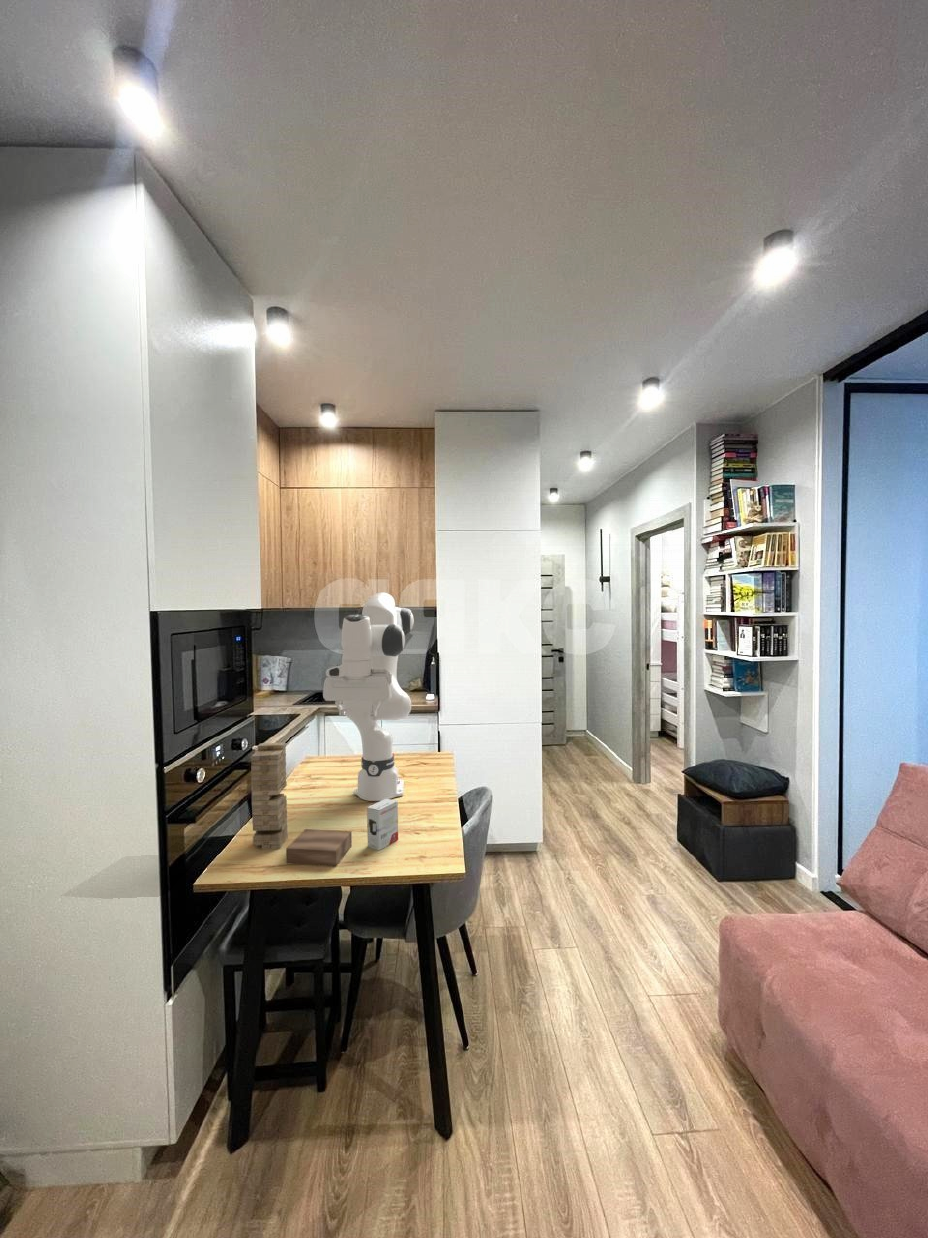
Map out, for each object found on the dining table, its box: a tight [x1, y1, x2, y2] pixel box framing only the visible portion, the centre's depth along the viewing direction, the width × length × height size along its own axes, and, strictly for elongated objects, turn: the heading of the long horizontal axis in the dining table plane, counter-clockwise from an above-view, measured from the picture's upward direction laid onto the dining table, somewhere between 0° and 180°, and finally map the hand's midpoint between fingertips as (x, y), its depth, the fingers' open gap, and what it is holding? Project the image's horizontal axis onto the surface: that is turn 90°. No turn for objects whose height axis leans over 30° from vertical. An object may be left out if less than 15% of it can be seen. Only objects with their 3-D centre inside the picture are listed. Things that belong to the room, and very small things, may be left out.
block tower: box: [250, 742, 289, 850], centre depth 151 cm, size 8×8×29 cm
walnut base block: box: [285, 828, 353, 868], centre depth 145 cm, size 12×14×5 cm
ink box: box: [366, 798, 399, 851], centre depth 152 cm, size 9×5×12 cm, turn 146°
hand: (357, 715), depth 154 cm, fingers open, 8 cm apart
